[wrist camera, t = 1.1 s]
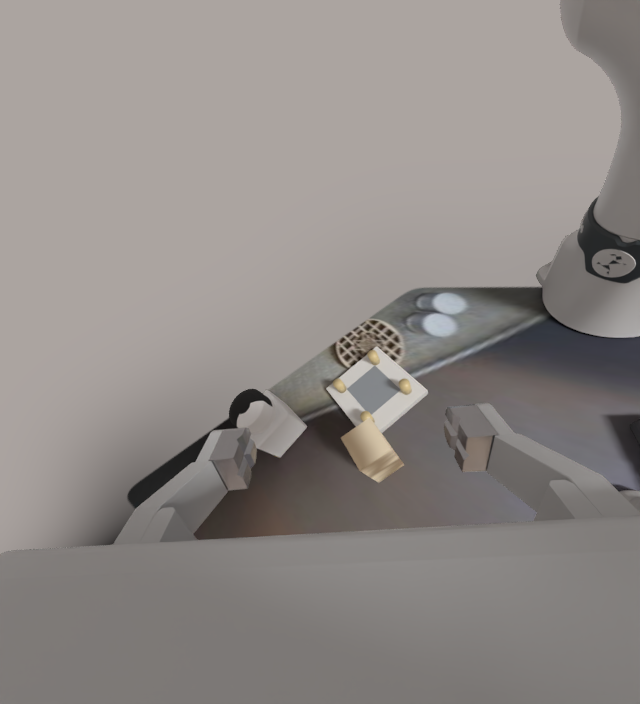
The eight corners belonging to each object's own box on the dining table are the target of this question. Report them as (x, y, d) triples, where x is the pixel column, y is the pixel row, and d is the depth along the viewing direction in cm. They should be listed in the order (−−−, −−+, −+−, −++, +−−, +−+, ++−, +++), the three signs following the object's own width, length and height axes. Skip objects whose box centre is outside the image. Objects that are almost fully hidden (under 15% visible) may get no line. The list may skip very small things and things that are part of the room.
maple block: (385, 438, 40) (369, 417, 32) (404, 464, 37) (391, 448, 29) (362, 455, 40) (340, 437, 32) (378, 482, 37) (359, 470, 29)
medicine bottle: (259, 431, 49) (216, 409, 40) (286, 403, 50) (249, 375, 41) (280, 459, 45) (235, 440, 36) (308, 427, 46) (272, 401, 37)
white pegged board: (378, 349, 49) (373, 338, 46) (428, 393, 41) (426, 383, 38) (328, 391, 48) (320, 382, 45) (369, 443, 40) (363, 437, 38)
